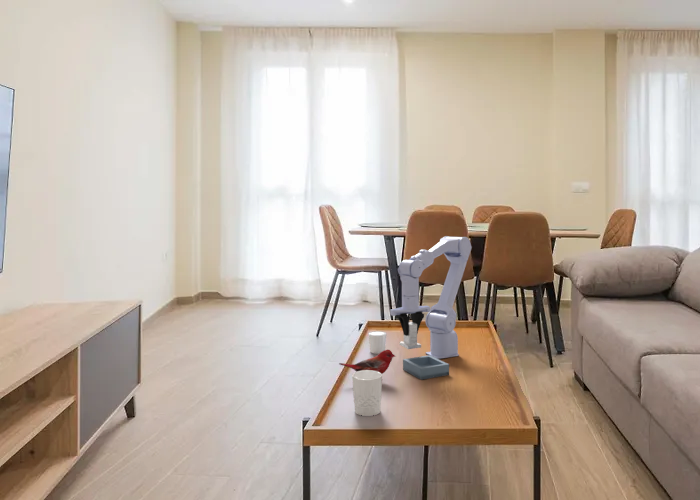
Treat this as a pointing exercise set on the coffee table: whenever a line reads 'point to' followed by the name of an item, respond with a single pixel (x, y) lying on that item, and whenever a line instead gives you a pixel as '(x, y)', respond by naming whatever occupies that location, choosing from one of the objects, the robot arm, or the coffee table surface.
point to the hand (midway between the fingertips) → (410, 334)
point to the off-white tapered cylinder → (377, 341)
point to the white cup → (367, 392)
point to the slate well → (425, 367)
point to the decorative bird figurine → (374, 363)
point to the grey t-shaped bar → (411, 337)
